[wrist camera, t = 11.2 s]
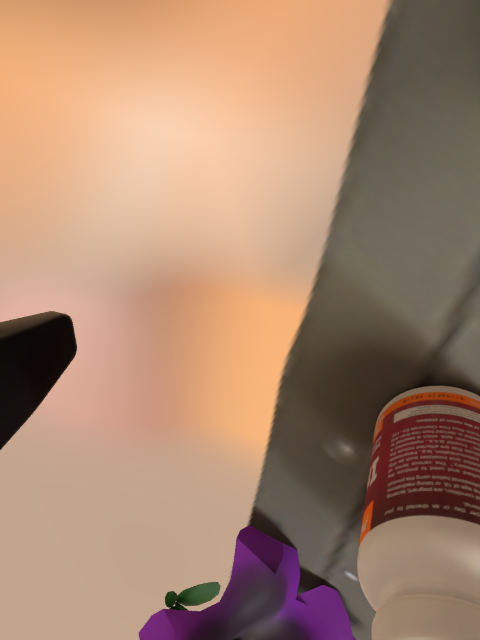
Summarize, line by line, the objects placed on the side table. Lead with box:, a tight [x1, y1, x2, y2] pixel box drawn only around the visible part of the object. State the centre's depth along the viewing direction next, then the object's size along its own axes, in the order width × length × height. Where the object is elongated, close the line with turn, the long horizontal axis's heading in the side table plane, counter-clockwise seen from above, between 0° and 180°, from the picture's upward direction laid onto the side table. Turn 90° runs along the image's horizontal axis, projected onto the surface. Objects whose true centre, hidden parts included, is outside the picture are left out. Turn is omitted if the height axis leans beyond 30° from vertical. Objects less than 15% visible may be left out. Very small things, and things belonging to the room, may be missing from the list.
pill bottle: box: [357, 386, 480, 640], centre depth 17 cm, size 6×6×11 cm
